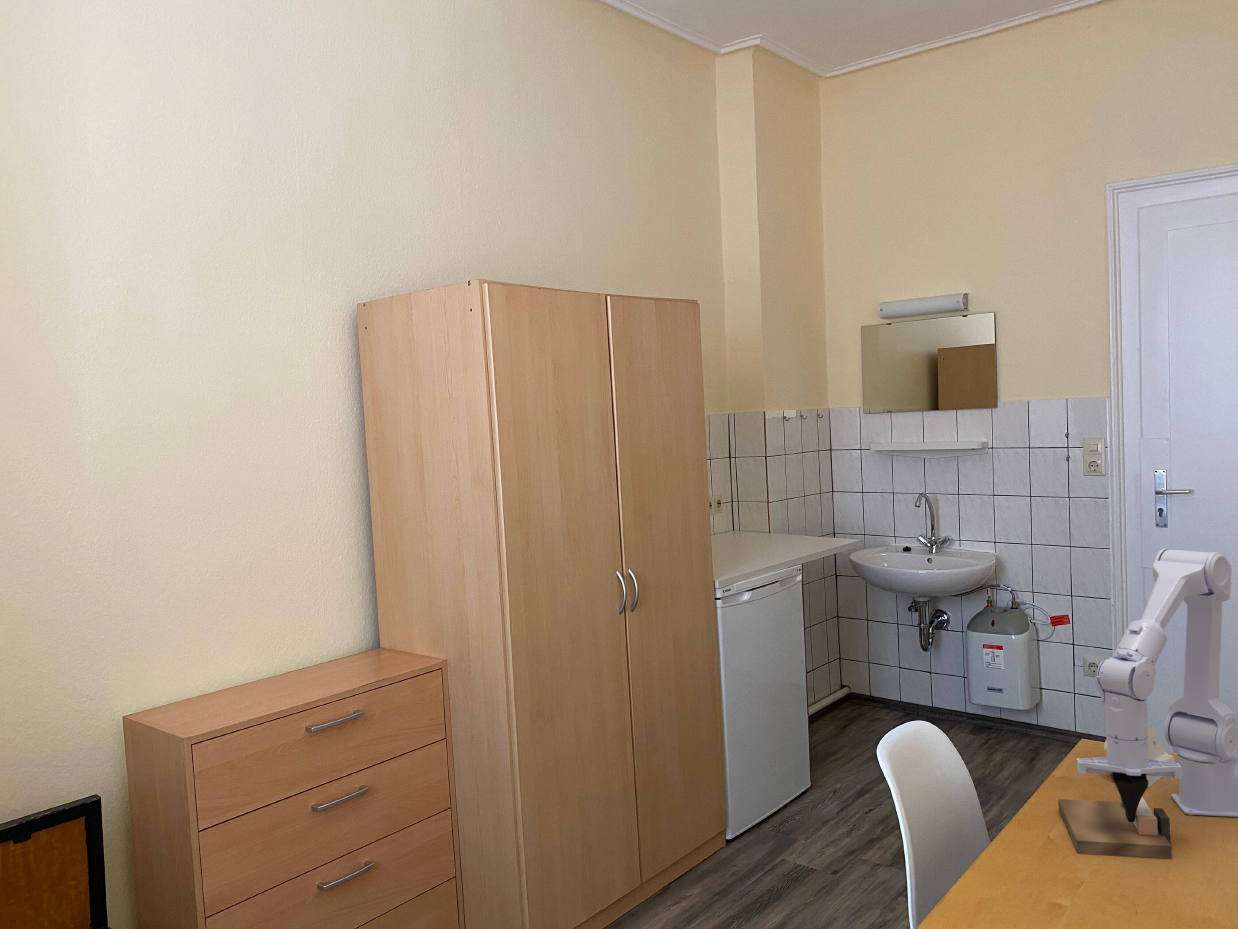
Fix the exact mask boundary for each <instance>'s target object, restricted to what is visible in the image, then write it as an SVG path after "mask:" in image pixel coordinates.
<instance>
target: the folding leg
mask: <svg viewBox="0 0 1238 929" xmlns="http://www.w3.org/2000/svg"><path fill="white" fill-rule="evenodd" d="M1120 802H1121V806H1122V807H1124V805H1123V802H1122V799H1121V798H1120ZM1133 823H1134V824H1135V826H1136V828H1137V832H1138V833H1139V834H1140V835H1156V836H1158V827H1157V818H1156V817H1155V816H1154V812H1153V811H1152V810H1151V809H1150V807H1149V806H1148V804H1147V803H1146V800H1145V799H1144V797H1143V796H1142V798H1141V800H1140V802H1139V805H1138V808H1137V811H1136V816H1135V822H1133Z"/></svg>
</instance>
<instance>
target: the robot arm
mask: <svg viewBox="0 0 1238 929" xmlns="http://www.w3.org/2000/svg"><path fill="white" fill-rule="evenodd" d="M1154 557H1155V558H1154V560H1153V564H1152V577H1153V580H1154V585H1153V587H1152V590H1151V592H1150V595H1149V596H1148V600H1147V603H1146V604H1145V607H1144V610H1143V612H1142V615H1141V618H1140V619H1137V620H1134V621H1131V622H1129V625H1128V626H1127V628H1126V630H1125V632H1124V634H1123V635H1122V638H1121V640H1120V641H1119V643H1118V645H1117V646H1116V648H1115V651H1114V653H1113V654H1112V655H1111V657H1108V658H1107V659H1103V660H1102V661H1101V662H1100V663H1099V665H1098V667H1097V670H1096V676H1095V677H1094V678H1095V683H1096V684H1095V685H1096V687H1097V689H1098V690H1099V692H1100V701H1101V702H1102V704H1104V706H1105V709H1104V710H1105V729H1106V733H1105V734H1106V739H1107V755H1108V757H1107V756H1102V757H1087V758H1086V757H1085V758H1084V757H1083V758H1080V757H1079V758H1076V770H1077V772H1078V774H1079V775H1087V774H1101V775H1102V774H1104V775H1110V777H1111V779H1112V781H1113V783H1114V785H1115V786H1116V790H1117V792H1118V793H1119V796H1120V800H1121V799H1122V802H1123V805H1124V809H1125V814H1126V818H1127V820H1128V821H1129V822H1135V816H1136V811H1137V808H1138V805H1139V802H1140V800H1141V798H1142V797H1143V795H1144V794H1145V792H1147V790H1148V789H1149V788H1148V780H1147V776H1163V777H1167V778H1168V777H1169V778H1170V777H1171V778H1173V779H1175V780H1177V779H1178V793H1172V794H1171V797H1172V799H1173V800H1174V802H1175V803H1176V804H1177V805H1178V807H1179V808H1180V809H1181V811H1182V812H1183V814H1185V815H1192V816H1195V815H1196V816H1211V817H1213V816H1214V817H1216V816H1217V817H1231V818H1232V817H1237V818H1238V756H1236V754H1237V753H1238V720H1237V719H1238V718H1237V717H1238V716H1237V714H1236V712H1234V711H1233V710H1231V709H1230V708H1229V707H1228V706H1227V705H1226V704H1224V703H1223V702H1222V701H1221V700H1220V699H1219V698H1220V678H1221V677H1220V674H1221V670H1220V669H1221V652H1222V650H1221V648H1222V647H1221V646H1222V621H1223V603H1225V602H1227V601H1229V600H1230V599H1231V590H1232V565H1231V564H1230V562H1229V561H1228V559H1227V557H1226V556H1225V555H1224V553H1222V552H1220V551H1213V552H1210V551H1199V550H1198V551H1196V550H1195V551H1194V550H1185V549H1183V550H1182V549H1180V550H1179V549H1171V548H1167V547H1165V548H1162V549H1160V550H1159V551H1158V552H1157V554H1156V555H1155V556H1154ZM1183 601H1184V603H1185V604H1186V606H1187V610H1186V630H1185V631H1186V632H1185V655H1184V656H1185V657H1184V658H1185V659H1184V677H1183V678H1184V683H1183V695H1182V696H1181V697H1179V698H1177V699H1176V700H1173V701H1172V702H1171V703H1169V704H1168V710H1167V715H1166V719H1165V721H1164V726H1163V734H1164V738H1165V740H1166V742H1167V744H1168V745H1169V746H1170V747H1172V753H1173V754H1177V755H1176V756H1177V761H1175V762H1166V761H1159V760H1152V759H1148V737H1147V723H1148V720H1147V719H1148V717H1147V716H1148V715H1147V698H1149V696H1150V695H1151V693H1152V692H1153V689H1154V684H1155V675H1156V673H1157V672H1156V670H1157V669H1156V667H1155V665H1156V663H1157V661H1158V659H1159V657H1160V655H1161V653H1162V651H1163V649H1164V648H1165V645H1166V643H1167V642H1168V638H1167V634H1166V633H1165V631H1164V630H1165V628H1166V627H1167V625H1168V624H1169V622H1170V621H1171V620H1172V618H1173V617H1174V615H1175V613H1176V611H1177V610H1178V609H1179V607H1180V605H1181V604H1182V602H1183Z"/></svg>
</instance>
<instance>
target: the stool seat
mask: <svg viewBox="0 0 1238 929" xmlns="http://www.w3.org/2000/svg"><path fill="white" fill-rule="evenodd" d="M1057 804H1058V812H1059V815H1060V817H1061V819H1062V820H1063V823H1064V825H1065V828H1066V830H1067V832H1068V835H1069V837H1070V839H1071V841H1072V844H1073V845H1074V847H1075V850H1076V852H1077V854H1085V855H1100V856H1114V857H1116V856H1117V857H1133V858H1134V857H1135V858H1152V859H1168V860H1172V859H1173V854H1172V852H1173V851H1172V844H1171V843H1172V842H1171V818H1170V817H1169V816H1168V813H1166V811H1165V810H1164V809H1163V808H1162V807H1153V815H1154V816H1155V817H1156V818H1157V827H1158V836H1156V835H1140V834H1139V833H1138V832H1137V828H1136V826H1135V824H1134V823H1133V822H1129V821H1128V820H1127V818H1126V814H1125V809H1124V807H1122V806H1121V801H1111V800H1109V801H1107V800H1105V801H1104V800H1089V799H1088V800H1087V799H1086V800H1084V799H1063V798H1061V799H1060V798H1058V799H1057Z"/></svg>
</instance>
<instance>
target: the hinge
mask: <svg viewBox="0 0 1238 929" xmlns="http://www.w3.org/2000/svg"><path fill="white" fill-rule="evenodd" d="M1147 737H1148V759H1152V760H1159V761H1166V762H1176V760H1175V757H1174V756H1173V755H1172V754H1170V755H1168V754H1169V753H1168V752H1167V751H1166V750H1165V748H1164V746H1163V744H1162V741H1161V740H1160V738H1159V736H1158V734H1157V732H1156V729H1155V727H1154V726H1153V725H1152V724H1151V723H1148V722H1147ZM1103 750H1104V753H1105V755H1106V756H1105V757H1108V755H1107V738H1106V739H1105V741H1104V744H1103ZM1162 753H1164V754H1162ZM1161 778H1163V777H1162V776H1147V780H1148V787H1149V788H1150V787H1152V786H1153V785H1154V784H1155V783H1156V782H1158V781H1159V780H1161ZM1158 779H1159V780H1158ZM1157 780H1158V781H1157ZM1153 783H1154V784H1153Z"/></svg>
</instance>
